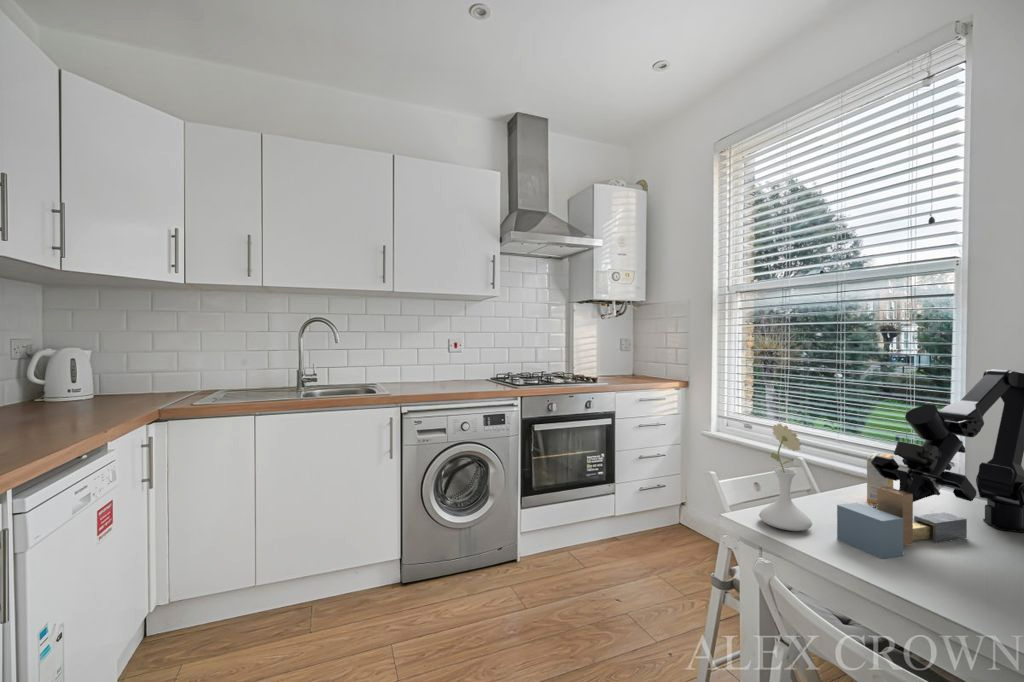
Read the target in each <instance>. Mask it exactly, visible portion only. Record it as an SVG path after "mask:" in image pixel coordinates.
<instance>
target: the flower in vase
mask: <svg viewBox="0 0 1024 682" xmlns="http://www.w3.org/2000/svg"><path fill="white" fill-rule="evenodd" d="M771 427H772V431H773V432H772V434H773V435H774V436H775V438H776V439H777V440H778V441H779V445H778V448H777V454H776V453H775V452H774V451H772V453H771V454H770V456H769V457H770V458H771V459H773V460H775V461H777V462H779V464H780V467H775V468H773V471H774V472H775V475H776V476H777V478H778V482H779V483H778V484H779V496H778V499H777V500H776V501H774V502H773V503H770V504H769V505H767V506H765V507H764V508H762V509H761V510H760V512H759V513H758V517H759V518H760V520H761V521H762V522H764V523H765V524H768V526H769V525H770V526H771V527H774V528H777V529H781V530H784V531H792V532H793V531H794V532H797V531H798V532H800V531H801V532H802V531H806V530H809V529H810V528H811V527H812V526H813V522H812V520H811V518H810V517H809V516H808V515H807V514H806V513H805V512H804V511H803V510H802V509H800V507H798V506H797V505H796V504H795V503H794V502H793V500H792V497H791V486H792V481H793V478H794V477H795V476H796V474H797V473H798V471H796V470H794V469H790V468H785V467H784V466H783V465H786V464H788V463H790V462H792V461H794V460H795V459H794V458H792V459H791V460H788V461H786V460H785V461H784V462H783V463H782V460H781V458H780V450H781V447H782V446H783V447H785V448H787V449H788V450H791V451H794V452H796V451H797V452H798V451H801V446H802V444H801V442H800V439H799V438H798V435H797V433H796V432H793V430H792V429H790V428H789V426H787V425H784V426H783V424H782V423H776V424H773V425H772V426H771Z"/></svg>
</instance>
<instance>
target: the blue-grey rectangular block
mask: <svg viewBox="0 0 1024 682" xmlns="http://www.w3.org/2000/svg"><path fill="white" fill-rule="evenodd" d="M836 506H837V507H836V509H837V510H836V516H837V517H836V539H837V540H838V541H839V542H842V543H845V544H846V545H849V546H852V547H853V548H855V549H858V550H861V551H863V552H865V553H867V554H869V553H870V555H872V556H874V555H875V556H874V557H877V558H878V557H879V558H878V559H881V560H884V559H886V560H887V559H891V558H892V559H893V558H899V557H903V556H904V545H903V518H900V517H898V516H895V515H892V514H889V513H886V512H883V511H880V510H877V508H873V507H871V506H869V505H865V504H862V503H859V502H850V503H842V504H837V505H836Z"/></svg>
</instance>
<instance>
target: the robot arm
mask: <svg viewBox="0 0 1024 682" xmlns="http://www.w3.org/2000/svg"><path fill="white" fill-rule="evenodd" d="M982 375H983V376H982V378H981V379H980V380H978V382H977V383H976V384H975V385H974V386H973V387H972V388H971V389H970V390H969V391H968V392H967V393H966V394H965V395H964V396H963V397H962V398H961V399H960V400H959V401H958V402H957V401H956V402H955V403H951V404H948V405H946V406H944V407H942V408H941V409H940V410H938V408H937V406H936V405H935V404H934V403H927V402H926V403H923V405H921V406H916V407H914V408H912V409H910V410H908V411H907V412H906V413H905V415H904V416H905V420H906V421H907V423H908V424H909V426H910V427H911V428H912V429H913V431H914V432H915V434H916V435H917V436H918V438H920V439H921V440H924V441H923V443H922V444H921V445H918V444H917V443H911V442H910V443H909V442H905V441H899V440H898V441H897V442H896V446H895V448H894V452H893V455H895V456H899V457H900V458H902V460H901V461H902V463H903V464H898V463H897V461H896V460H895V458H893V459H892V458H887V457H883V456H875V457H874V458H873V460H872V461H871V463H872V465H873V466H874V467H875V468H876V470H877V471H878V472H879V473H880V475H881V476H883V477H884V478H887V479H891V480H893V481H894V482H895V481H896V482H897V481H899V489H898V490H900V491H904V492H907V493H911V494H913V503H915V502H917V501H919V500H922V499H925V498H926V499H927V498H929V497H932V496H940V495H941V492H940V490H941V488H944V487H946V488H949V489H953V491H952V493H953V496H955V497H956V498H958V499H961V500H965V501H969V502H973V501H974V499H975V498H976V496H977V491H978V495H979V498H982V499H986V503H987V504H985V505H984V518H982V520H983V522H984V523H987V524H988V523H989V524H988V525H990V526H991V527H994V528H995V529H997V530H1000V531H1008V532H1009V531H1010V532H1017V533H1024V467H1023V466H1022V462H1023V457H1024V371H1016V370H1015V371H1014V370H1011V369H993V368H991V369H989V370H988V369H986V370H985V371H984V372H983V374H982ZM999 399H1001V401H1002V402H1003V406H1002V407H1003V408H1002V412H1001V417H1000V422H999V425H998V431H997V434H996V435H997V436H996V440H995V444H994V445H995V446H994V451H993V454H992V458H991V459H990V460H988V461H987V462H981V463H979V465H978V473H977V475H976V478H975V479H976V480H975V484H976V487H977V489H976V488H975V486H974V485H973V484H972V483H971V482H970V480H969V479H968V478H967V476H966V475H965V474H961V473H957V472H956V473H955V472H951V470H952V468H953V466H951V464H950V463H951V462H952V460H954V458H955V456H956V454H957V453H962V454H965V453H966V451H967V450H966V447H965V446H964V444H963V443H964V442H963V440H961V439H960V438H959V437H964V438H965V437H966V438H975V437H976V436H977V435H978V434H979V433H980V432H981V430H982V428H983V427H984V425H985V421H984V418H983V417H984V415H985V414H986V413H987V412H988V411H989V409H991V408H992V406H993V405H994V404H995V403H996V402H997V401H998V400H999ZM958 436H959V437H958Z"/></svg>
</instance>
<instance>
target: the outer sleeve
mask: <svg viewBox="0 0 1024 682" xmlns="http://www.w3.org/2000/svg"><path fill="white" fill-rule="evenodd" d="M967 521H968V519H967V518H966V517H961V516H958V515H955V514H952V513H949V512H946V511H943V512H936V513H935V512H933V513H929V514H928V513H927V514H920V515H919V514H918V515H913V523H915V522H924V523H927V524H930V525H933V537H932V538H925V539H924V540H925V541H929V542H931V543H934V544H939V542H940V543H946V541H947V542H952V541H953V540H954V541H960V540H959V539H961V540H966V539H965V538H967V534H968V530H967V529H968V525H967ZM951 540H952V541H951Z"/></svg>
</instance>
